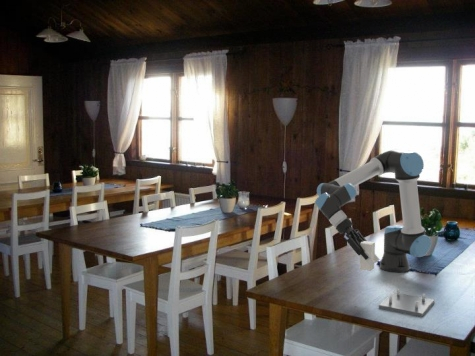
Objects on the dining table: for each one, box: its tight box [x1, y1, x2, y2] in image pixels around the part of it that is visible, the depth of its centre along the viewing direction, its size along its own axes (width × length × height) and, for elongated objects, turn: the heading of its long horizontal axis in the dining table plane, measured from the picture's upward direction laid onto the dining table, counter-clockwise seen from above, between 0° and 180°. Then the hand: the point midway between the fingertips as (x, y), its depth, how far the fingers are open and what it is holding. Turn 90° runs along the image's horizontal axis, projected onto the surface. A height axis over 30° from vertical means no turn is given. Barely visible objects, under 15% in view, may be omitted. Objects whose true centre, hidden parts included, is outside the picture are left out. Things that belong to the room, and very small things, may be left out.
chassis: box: [378, 288, 435, 318], centre depth 232 cm, size 20×18×4 cm
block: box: [359, 240, 376, 272], centre depth 242 cm, size 5×5×12 cm
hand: (375, 262), depth 240 cm, fingers closed on block, 5 cm apart
